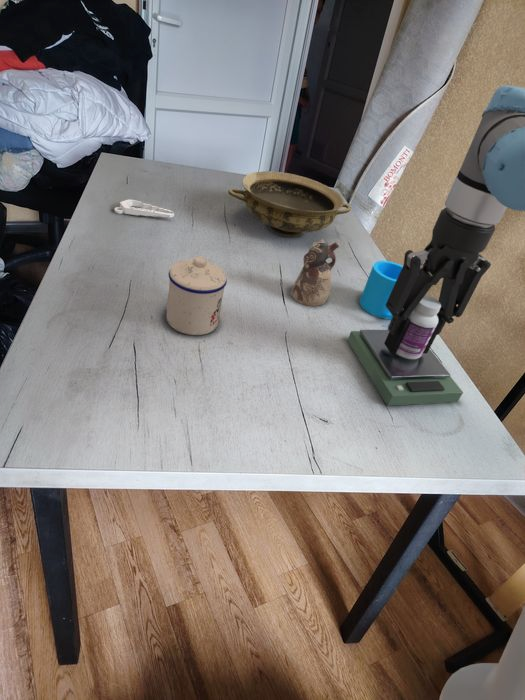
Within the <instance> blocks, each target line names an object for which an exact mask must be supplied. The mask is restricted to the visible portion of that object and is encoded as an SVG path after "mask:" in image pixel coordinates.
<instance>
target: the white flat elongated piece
mask: <svg viewBox="0 0 525 700" xmlns="http://www.w3.org/2000/svg"><path fill="white" fill-rule="evenodd" d="M114 212H115V213H116V214H119V215H120V214H121V215H122V214H126V215H132V216H145V217H150V216H151V217H161V218H162V217H163V218H169V219H170V218H173V217H175V212H174V211H172V210H171V209H168V208H167V209H166V208H163V207H159V206H156V205H152V204H150V203H146V202H145V203H144V202H142V201H141V200H135V199H125V200H123V201H119V206H115V207H114Z"/></svg>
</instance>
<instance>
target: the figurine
mask: <svg viewBox="0 0 525 700" xmlns="http://www.w3.org/2000/svg"><path fill="white" fill-rule="evenodd" d="M339 247H340V245H339V243H338V242H337V241H335V242H334V243H331V244H330V245H329V243H328V241H327V240H326V239H323V238H322V239H320V240H317V241H314V242H313V243H312V244H311V246H310V248H309V250H308V252H307V253H305V254H304V255H303V258H302V261H303V266H302V268H301V270H300V272H299V274H298V275H297V278H296V280H295V282H294V283H293V287H292V289H291V293H290V295H291V297H292V298H293V299H294V300H295V301H297V302H298V303H299V304H301V305H303V306H304V305H305V306H309V307H318V306H322V305H324V304H325V303H326V301H327V299H328V297H329V295H330V291H331V285H332V269H333V268H334V266H335V264H336V261H337V259H336V258H337V257H336V254H335V252H334V251H336V249H338V248H339ZM329 258H330V259H331V262H327V260H328V259H329Z"/></svg>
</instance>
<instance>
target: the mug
mask: <svg viewBox="0 0 525 700" xmlns="http://www.w3.org/2000/svg"><path fill="white" fill-rule="evenodd" d="M402 267H403V265H402V264H399V263H397V262H395V261H394V262H393V261H389V260H377V261H375V262H374V263H373V265H372V267H371V270H370V272H369V275H368V277H367V280H366V283H365V285H364V288H363V291H362V293H361V296H360V299H359V305H360V307H361V308H362V309H363V310H364V311H365V312H366V313H368V314H370V315H372V316H374V317H377V318H379V319H380V318H381V319H386V320H389V321H391V319H392V317H393V315H392V314H391V313H390V311H389V310H388V309H387V308H386V306H385V305H386V303H387V300H388V298H389V296H390V294H391V292H392V289H393V287H394V285H395V283H396V281H397V278H398V276H399V274H400V272H401V270H402Z"/></svg>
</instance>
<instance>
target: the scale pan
mask: <svg viewBox="0 0 525 700" xmlns="http://www.w3.org/2000/svg"><path fill="white" fill-rule="evenodd" d="M359 331H360V334H361V335H362V337H363V339H364V340H365V342H366V343H367V345H368V346H369V348H370V349H371V351H372V352H373V354H374V355H375V357H376V358H377V360H378V361H379V363H380V364H381V366H382V368H383V369H384V371H385V372H386V374H387V375H388V377H389V378H390V380H394V379H423V378H449V377H450V376H451V373H450V372H449V371H448V370H447V368H446V367H445V366H444V365H443V363H442V362H441V361H440V360H439V358H438V357H437V356H436V355H435V354H434V352H433V351H432V350H431V348H430V349H429V351H428V353H424V354H422V355H421V357H420V358H418V359H407V358H404V357H401V356H399V355H398V354H391V353H390V351H389V350H388V348H387V347H386V345H385V344H384V343H385V340H386V338H387V336H388V334H389V330H388V329H360V330H359Z"/></svg>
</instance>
